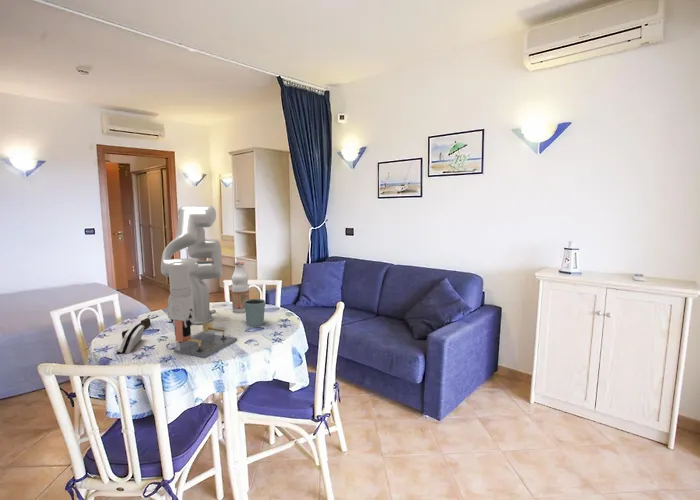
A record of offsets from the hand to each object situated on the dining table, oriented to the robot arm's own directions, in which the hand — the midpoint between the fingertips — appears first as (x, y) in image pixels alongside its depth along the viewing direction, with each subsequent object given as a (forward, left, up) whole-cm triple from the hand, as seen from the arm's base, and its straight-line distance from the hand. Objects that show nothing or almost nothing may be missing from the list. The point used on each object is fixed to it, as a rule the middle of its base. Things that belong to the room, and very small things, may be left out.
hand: (182, 334), depth 152 cm
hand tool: (-10, -39, -7) cm, 41 cm away
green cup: (-39, +7, -7) cm, 41 cm away
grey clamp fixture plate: (-7, +5, -7) cm, 11 cm away
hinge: (+4, -25, -7) cm, 26 cm away
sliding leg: (0, +4, -5) cm, 6 cm away
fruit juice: (-56, -15, -7) cm, 58 cm away
